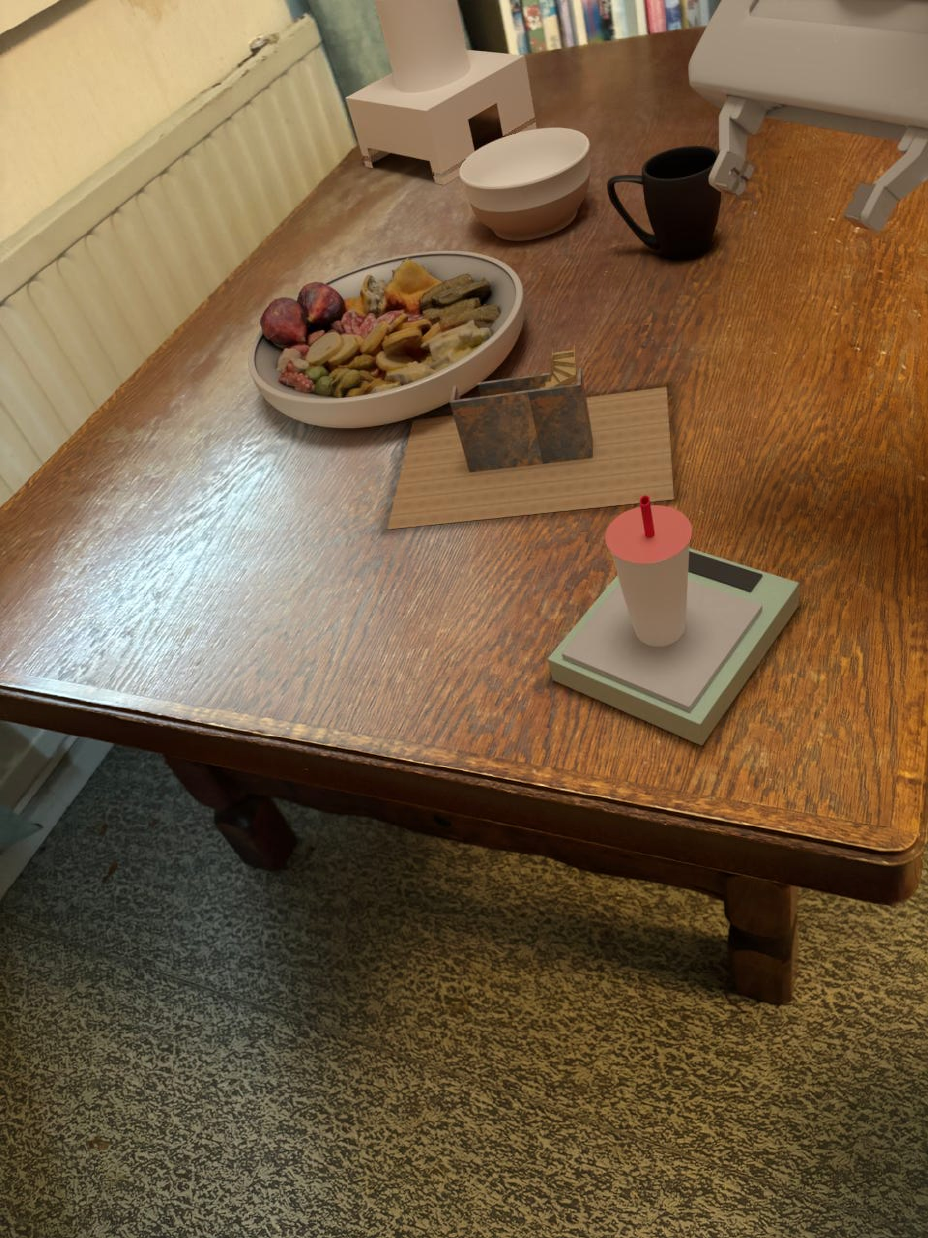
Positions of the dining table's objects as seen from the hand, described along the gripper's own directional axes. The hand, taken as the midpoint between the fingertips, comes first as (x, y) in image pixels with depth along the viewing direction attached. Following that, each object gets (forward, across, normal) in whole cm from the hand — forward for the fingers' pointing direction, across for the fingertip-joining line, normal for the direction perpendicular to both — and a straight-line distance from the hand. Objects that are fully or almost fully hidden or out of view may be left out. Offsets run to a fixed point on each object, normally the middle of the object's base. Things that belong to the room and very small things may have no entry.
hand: (788, 206), depth 53 cm
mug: (-2, -43, +41) cm, 59 cm away
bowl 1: (+21, -51, +18) cm, 58 cm away
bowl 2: (0, -64, +39) cm, 75 cm away
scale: (+27, 0, +12) cm, 29 cm away
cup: (+26, 0, +9) cm, 28 cm away
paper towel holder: (-7, -95, +46) cm, 106 cm away
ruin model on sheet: (+22, -26, +17) cm, 38 cm away
